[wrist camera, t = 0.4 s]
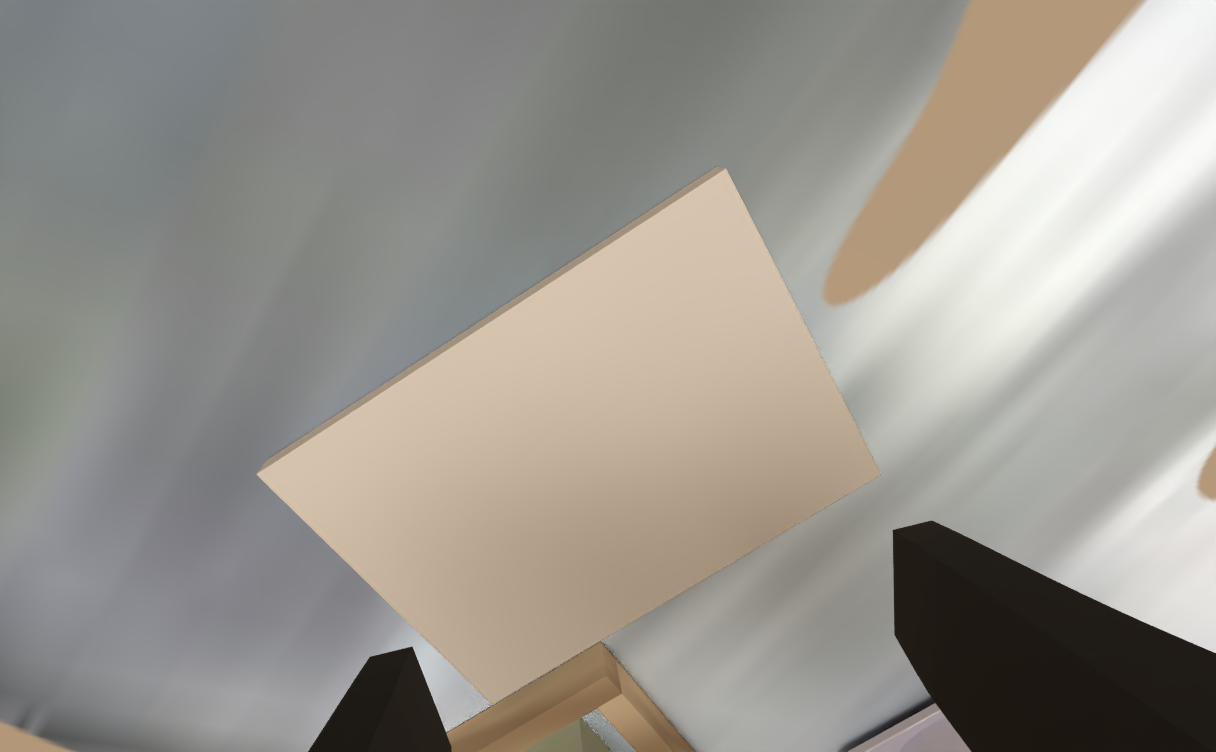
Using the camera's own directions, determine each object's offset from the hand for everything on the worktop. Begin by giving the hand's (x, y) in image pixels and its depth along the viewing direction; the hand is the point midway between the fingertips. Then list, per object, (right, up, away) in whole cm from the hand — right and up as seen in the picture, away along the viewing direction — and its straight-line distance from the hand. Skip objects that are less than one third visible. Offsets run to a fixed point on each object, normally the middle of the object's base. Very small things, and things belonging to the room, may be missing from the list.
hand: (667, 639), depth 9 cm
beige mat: (-1, +1, +10) cm, 11 cm away
